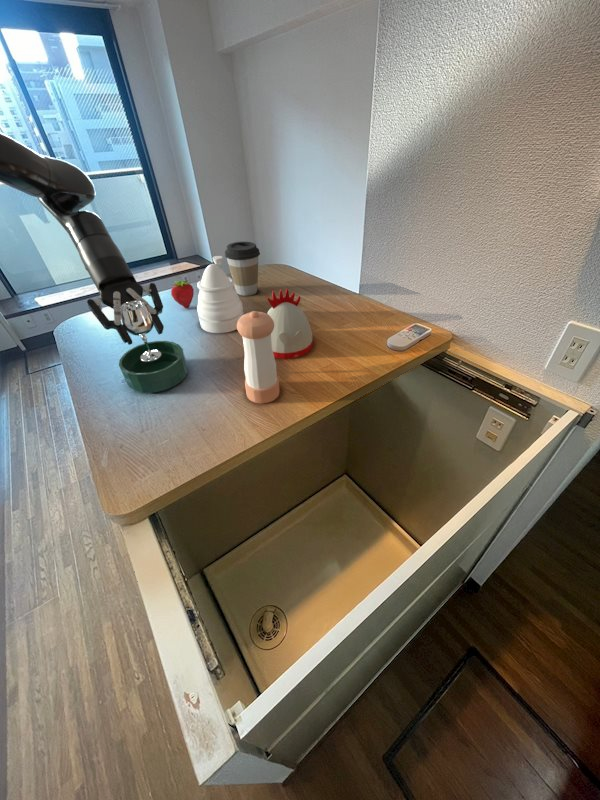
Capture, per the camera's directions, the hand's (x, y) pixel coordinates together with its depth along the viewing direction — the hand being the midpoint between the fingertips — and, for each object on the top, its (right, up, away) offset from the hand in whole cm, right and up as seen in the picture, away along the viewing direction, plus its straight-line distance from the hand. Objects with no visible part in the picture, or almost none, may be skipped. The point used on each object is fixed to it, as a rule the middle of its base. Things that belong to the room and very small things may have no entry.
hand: (146, 337), depth 68 cm
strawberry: (-4, +16, +35) cm, 39 cm away
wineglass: (-1, -3, +5) cm, 6 cm away
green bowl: (-1, -8, +8) cm, 11 cm away
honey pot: (+9, +10, +28) cm, 31 cm away
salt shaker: (+24, -12, +3) cm, 27 cm away
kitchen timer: (+29, +2, +18) cm, 34 cm away
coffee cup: (+14, +24, +45) cm, 53 cm away
